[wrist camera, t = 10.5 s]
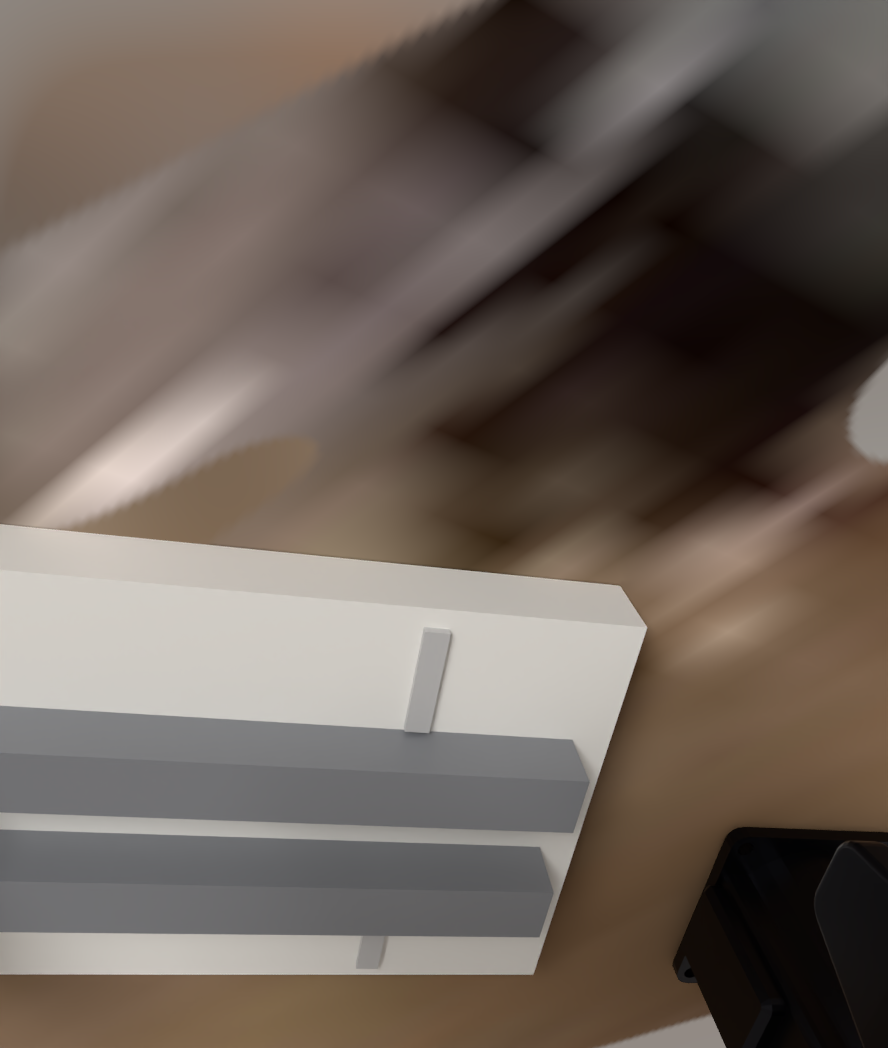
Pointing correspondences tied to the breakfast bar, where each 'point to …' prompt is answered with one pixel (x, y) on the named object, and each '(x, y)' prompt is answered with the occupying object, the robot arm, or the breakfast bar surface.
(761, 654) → the breakfast bar surface
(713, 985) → the robot arm
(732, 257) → the breakfast bar surface
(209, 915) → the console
